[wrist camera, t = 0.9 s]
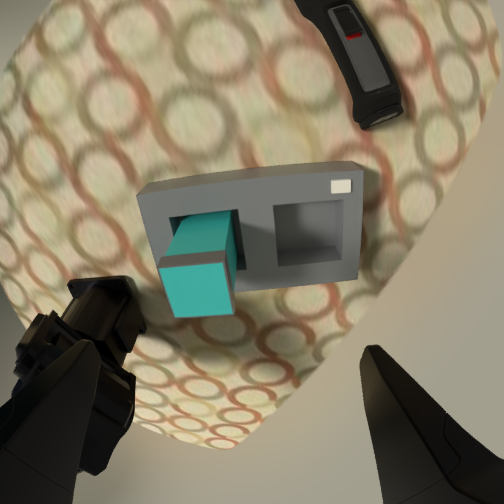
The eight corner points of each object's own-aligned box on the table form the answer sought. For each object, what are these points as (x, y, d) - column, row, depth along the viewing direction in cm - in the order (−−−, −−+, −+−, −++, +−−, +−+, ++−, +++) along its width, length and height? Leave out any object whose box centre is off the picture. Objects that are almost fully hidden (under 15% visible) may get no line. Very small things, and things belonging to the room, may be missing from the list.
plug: (193, 253, 22) (174, 318, 16) (184, 211, 20) (156, 267, 14) (239, 249, 22) (234, 315, 16) (232, 205, 20) (224, 260, 14)
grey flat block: (173, 277, 24) (166, 298, 21) (148, 183, 20) (135, 196, 17) (348, 261, 23) (358, 280, 20) (351, 160, 19) (364, 171, 16)
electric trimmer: (299, -66, 10) (306, -86, 8) (400, 114, 17) (422, 119, 14) (250, -53, 11) (249, -73, 8) (355, 131, 18) (372, 138, 15)
